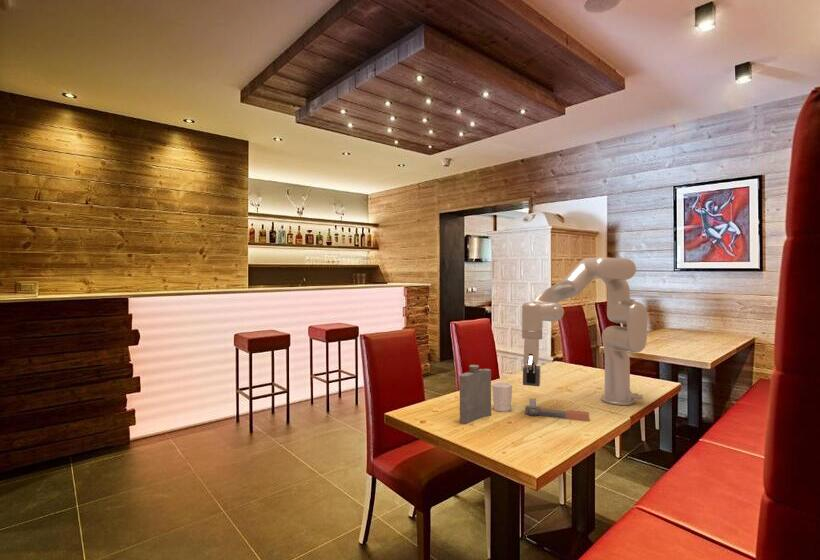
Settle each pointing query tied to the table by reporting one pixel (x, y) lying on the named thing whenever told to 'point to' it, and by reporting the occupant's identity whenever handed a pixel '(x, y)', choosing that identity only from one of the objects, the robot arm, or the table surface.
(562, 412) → the ratchet
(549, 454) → the table surface
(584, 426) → the table surface
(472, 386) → the hip flask
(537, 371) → the two-tone cube
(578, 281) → the robot arm
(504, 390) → the peach tapered cup
